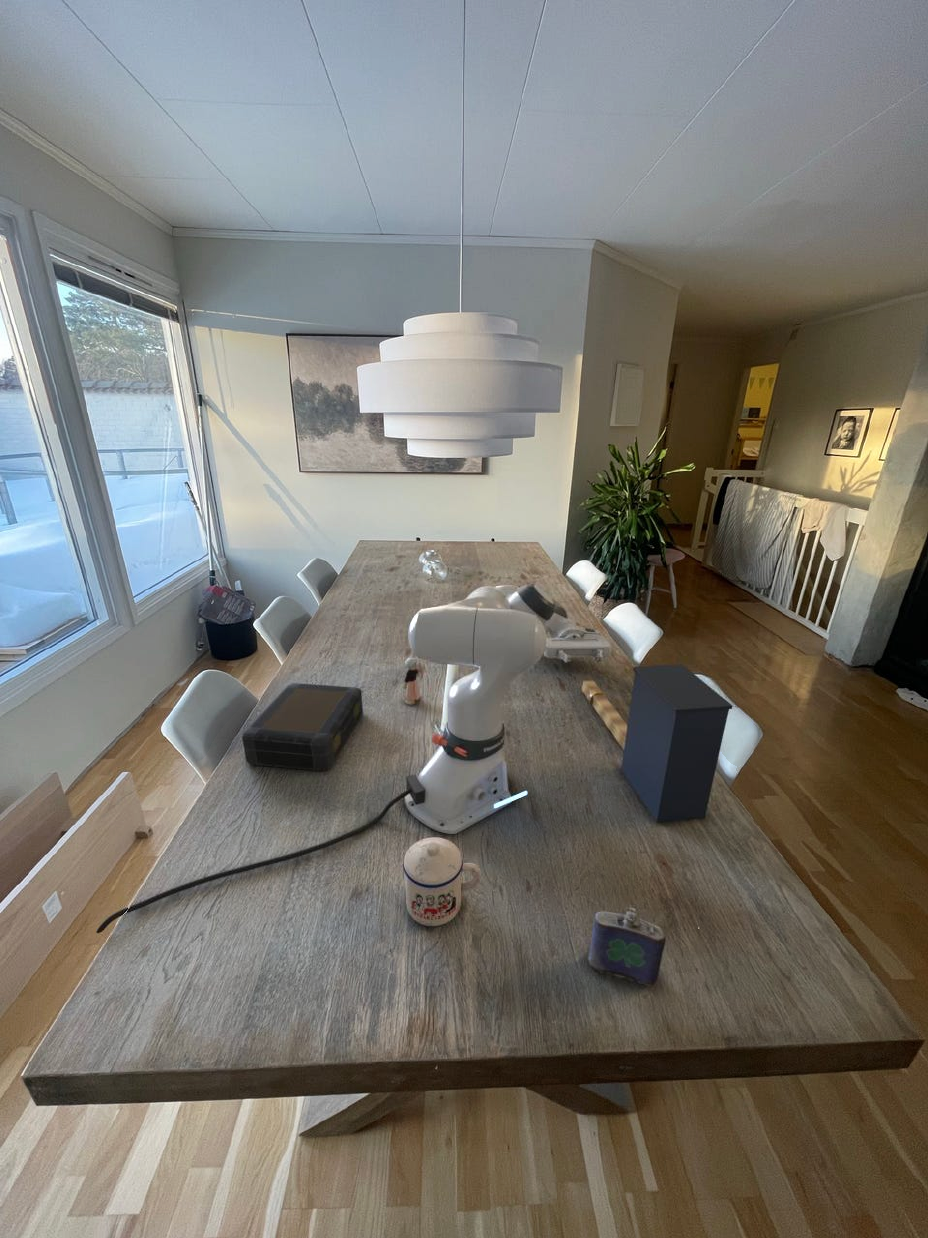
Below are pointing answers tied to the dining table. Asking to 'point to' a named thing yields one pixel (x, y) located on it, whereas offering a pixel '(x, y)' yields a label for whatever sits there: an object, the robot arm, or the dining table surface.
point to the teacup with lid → (435, 880)
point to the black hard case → (304, 727)
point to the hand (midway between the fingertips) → (584, 659)
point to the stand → (673, 741)
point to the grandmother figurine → (411, 681)
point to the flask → (626, 946)
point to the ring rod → (606, 711)
